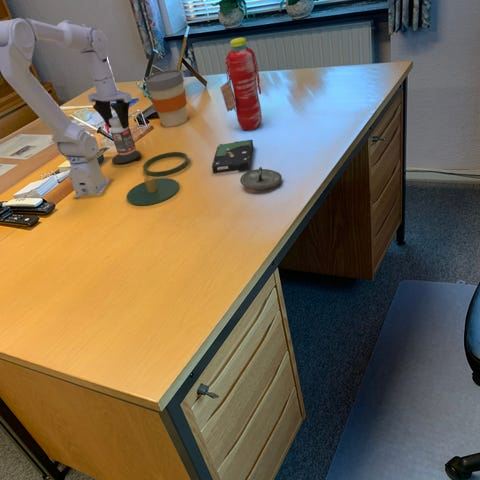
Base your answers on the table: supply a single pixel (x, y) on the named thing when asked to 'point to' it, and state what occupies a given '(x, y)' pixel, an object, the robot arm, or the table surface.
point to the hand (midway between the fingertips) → (119, 127)
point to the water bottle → (242, 85)
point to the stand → (126, 158)
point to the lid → (261, 179)
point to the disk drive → (233, 157)
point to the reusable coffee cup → (168, 96)
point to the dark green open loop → (167, 172)
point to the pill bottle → (121, 137)
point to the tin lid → (152, 191)
